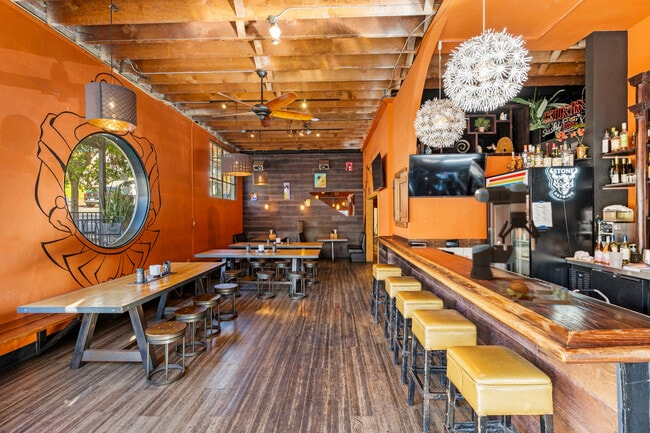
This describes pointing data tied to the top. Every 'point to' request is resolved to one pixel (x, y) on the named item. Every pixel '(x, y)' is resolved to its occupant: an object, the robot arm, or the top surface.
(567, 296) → the lane
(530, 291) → the mat
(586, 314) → the top surface
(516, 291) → the cheeseburger
